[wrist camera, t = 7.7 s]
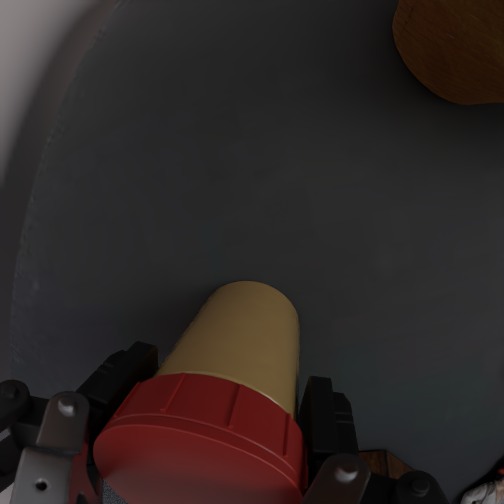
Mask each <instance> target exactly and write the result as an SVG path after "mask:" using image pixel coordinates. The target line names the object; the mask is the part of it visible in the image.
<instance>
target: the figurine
mask: <svg viewBox="0 0 504 504" xmlns="http://www.w3.org/2000/svg"><path fill="white" fill-rule="evenodd" d="M497 472H498V473H497V474H496V477H495V478H494V481H489V482H487V483H484V484H482V485H480V486H478V487H476V488H474V489H471V490H469V491H467V492H466V493H465V494H464V496H463V498H462V500H461V503H460V504H504V466H503V467H501V468H499V469H498V470H497Z"/></svg>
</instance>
